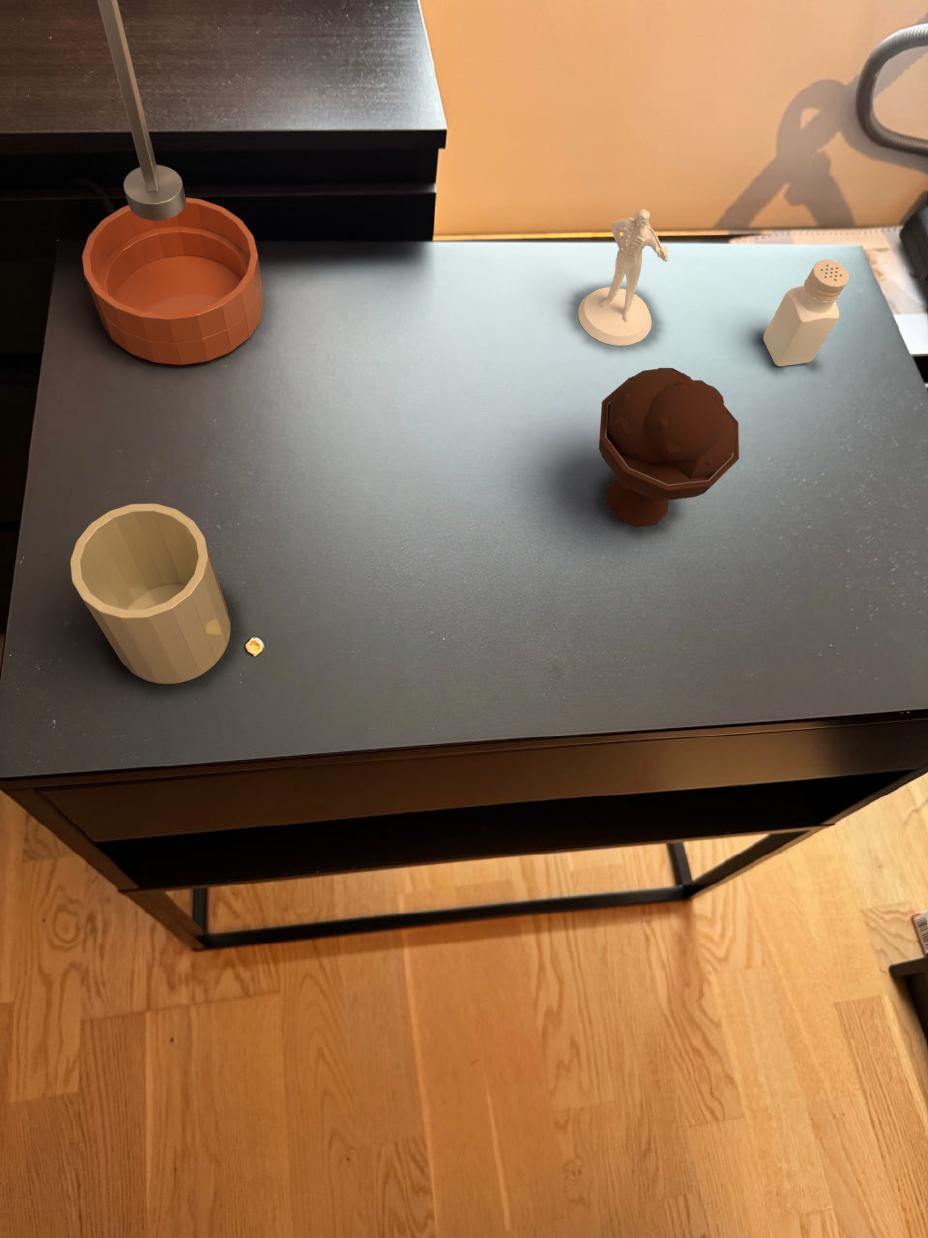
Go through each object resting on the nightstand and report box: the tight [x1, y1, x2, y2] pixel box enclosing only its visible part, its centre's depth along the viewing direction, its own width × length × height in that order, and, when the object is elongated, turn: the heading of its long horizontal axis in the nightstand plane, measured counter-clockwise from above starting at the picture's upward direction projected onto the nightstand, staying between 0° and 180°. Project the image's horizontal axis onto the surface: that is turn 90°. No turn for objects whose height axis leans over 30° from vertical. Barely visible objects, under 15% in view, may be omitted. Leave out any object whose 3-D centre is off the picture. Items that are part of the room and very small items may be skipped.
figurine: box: [577, 208, 669, 347], centre depth 81 cm, size 7×7×12 cm
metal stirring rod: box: [97, 0, 187, 221], centre depth 61 cm, size 4×4×24 cm
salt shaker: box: [763, 259, 850, 367], centre depth 82 cm, size 4×4×10 cm
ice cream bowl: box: [598, 367, 740, 528], centre depth 70 cm, size 11×11×15 cm
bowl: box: [81, 197, 265, 366], centre depth 79 cm, size 14×14×6 cm
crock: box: [69, 503, 232, 685], centre depth 63 cm, size 8×8×11 cm
